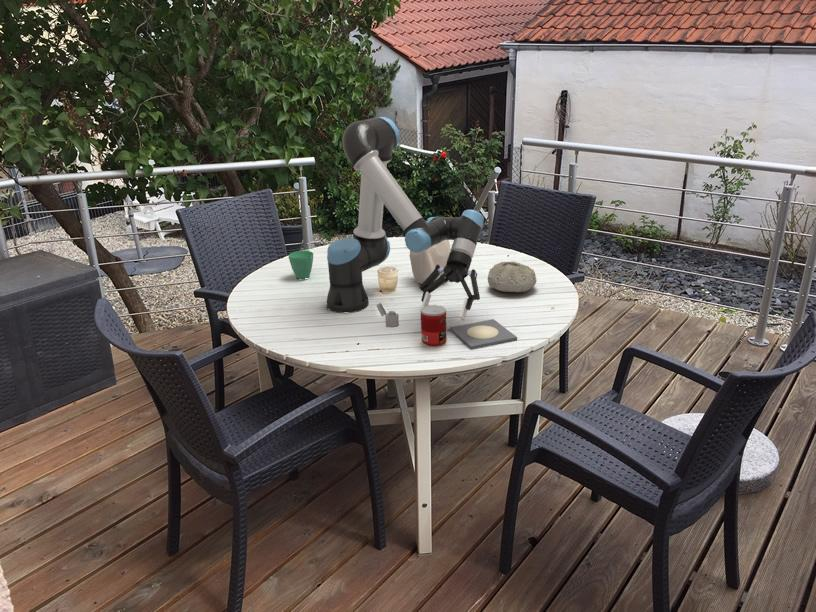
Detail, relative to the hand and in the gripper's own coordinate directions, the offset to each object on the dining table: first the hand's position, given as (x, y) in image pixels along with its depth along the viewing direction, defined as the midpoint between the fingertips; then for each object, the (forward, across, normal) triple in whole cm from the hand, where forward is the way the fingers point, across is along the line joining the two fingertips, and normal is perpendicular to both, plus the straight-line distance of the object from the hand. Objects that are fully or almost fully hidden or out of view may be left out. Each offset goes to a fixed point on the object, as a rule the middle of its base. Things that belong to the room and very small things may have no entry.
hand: (442, 315), depth 214 cm
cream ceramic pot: (-26, +27, -38) cm, 54 cm away
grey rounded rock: (-29, -4, -42) cm, 51 cm away
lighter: (+4, +21, -7) cm, 23 cm away
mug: (-17, +78, -28) cm, 85 cm away
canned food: (+8, +2, -4) cm, 9 cm away
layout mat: (0, -10, -11) cm, 15 cm away
